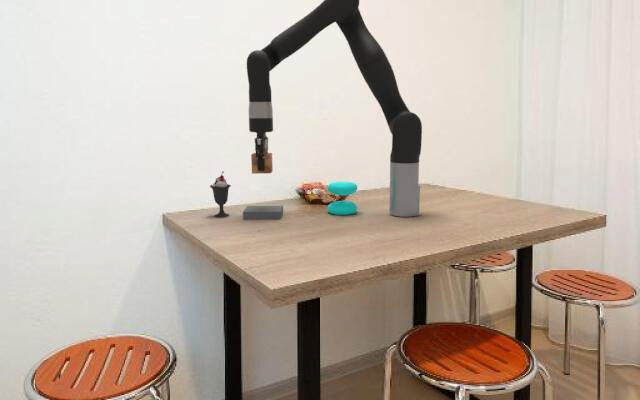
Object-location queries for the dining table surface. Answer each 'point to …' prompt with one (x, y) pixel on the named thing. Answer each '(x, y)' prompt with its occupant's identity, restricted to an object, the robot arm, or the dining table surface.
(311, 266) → the dining table surface
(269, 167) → the cube
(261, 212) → the base
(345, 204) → the donuts
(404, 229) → the dining table surface
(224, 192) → the sundae
